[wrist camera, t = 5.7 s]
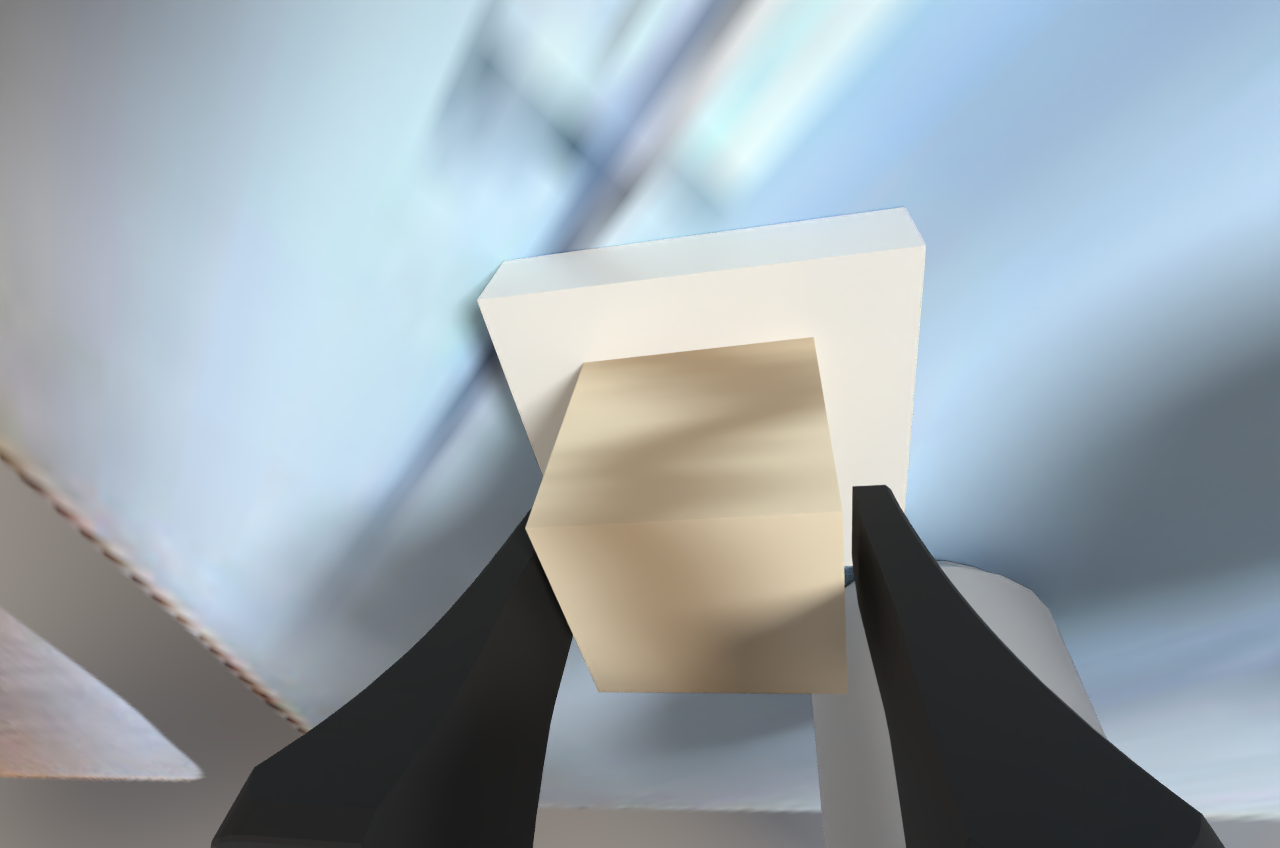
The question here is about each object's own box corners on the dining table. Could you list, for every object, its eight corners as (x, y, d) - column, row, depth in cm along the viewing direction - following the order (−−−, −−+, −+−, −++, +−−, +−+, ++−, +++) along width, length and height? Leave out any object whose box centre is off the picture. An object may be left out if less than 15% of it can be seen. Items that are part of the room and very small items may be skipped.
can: (860, 696, 25) (930, 1164, 16) (764, 586, 22) (780, 1097, 12) (1073, 649, 22) (1324, 1208, 12) (999, 511, 18) (1265, 1133, 9)
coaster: (905, 207, 13) (925, 245, 12) (887, 510, 19) (900, 564, 17) (503, 260, 15) (476, 300, 14) (591, 522, 21) (579, 572, 19)
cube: (813, 337, 13) (842, 511, 9) (822, 507, 16) (848, 694, 12) (583, 362, 14) (524, 528, 11) (631, 517, 17) (598, 692, 14)
